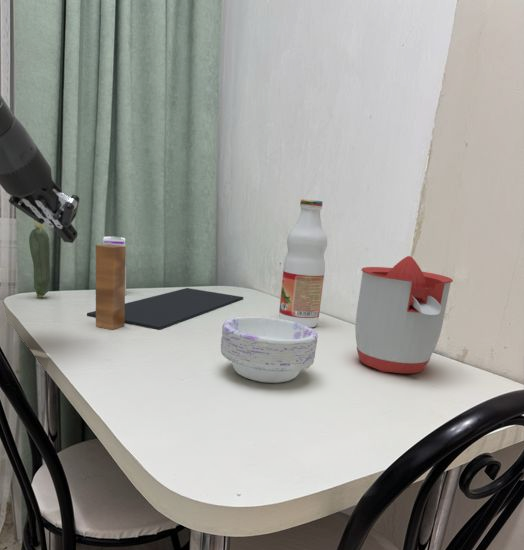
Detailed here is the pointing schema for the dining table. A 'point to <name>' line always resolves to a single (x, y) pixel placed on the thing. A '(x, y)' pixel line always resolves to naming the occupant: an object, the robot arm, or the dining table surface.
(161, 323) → the mat
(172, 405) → the dining table surface
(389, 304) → the citrus juicer
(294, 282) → the fruit juice
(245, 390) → the dining table surface
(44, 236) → the vegetable
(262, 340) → the paper bowls
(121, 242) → the syrup box
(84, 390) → the dining table surface
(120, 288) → the oak stick
